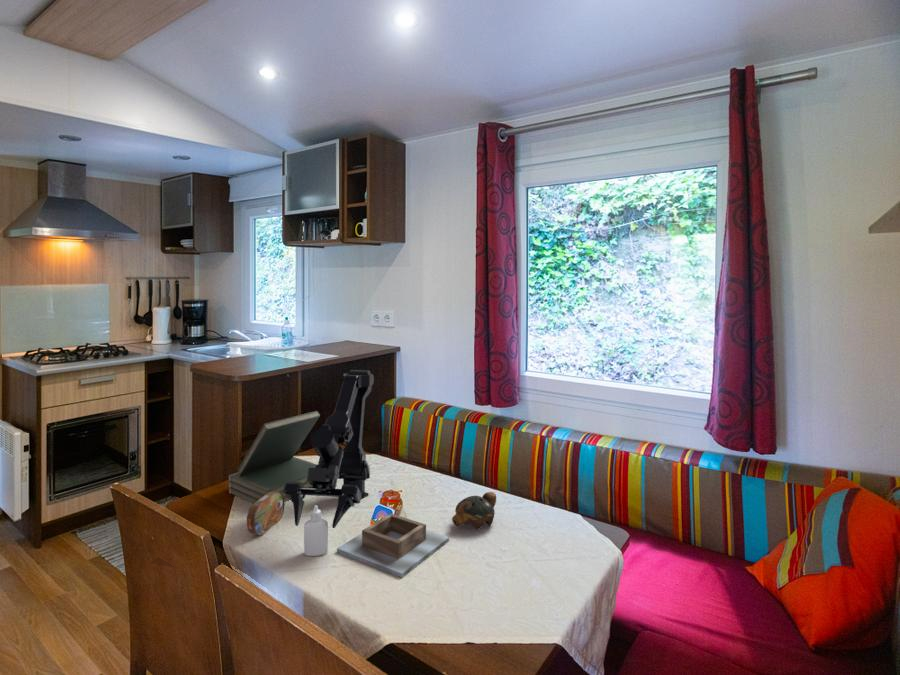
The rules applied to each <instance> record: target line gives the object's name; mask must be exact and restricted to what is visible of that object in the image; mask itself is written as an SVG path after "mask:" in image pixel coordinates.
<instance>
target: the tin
mask: <svg viewBox="0 0 900 675" xmlns="http://www.w3.org/2000/svg"><path fill="white" fill-rule="evenodd" d="M285 504H286V502H285V503H284V496H283V494H282V493H281V492H269V493H267V494H266V495H265V496H263V497H262V498H261V499H259V500H258V501H257V502H255V503H252V505H251V506H250V507H249V509H248V512H247V515H246V526H247V532H248V533H249V534H251V535H252V536H253V535H254V536H264V535H265V534H266V533H267V532H268V531H269V530H270V529H272V528H273V527H274V526H275V525H276V524H277V523H279V522H280V521H281V519H282V518H283V514H284V510H285ZM273 525H274V526H273ZM272 526H273V527H272ZM271 527H272V528H271ZM266 531H267V532H266ZM265 532H266V533H265ZM264 533H265V534H264ZM263 534H264V535H263Z"/></svg>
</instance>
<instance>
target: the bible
mask: <svg viewBox="0 0 900 675" xmlns="http://www.w3.org/2000/svg"><path fill="white" fill-rule="evenodd" d="M320 416H321V414H320V413H319V411H318V410H315V411H312V412H311V411H310V412H306V413H304V414H303V413H302V414H299V415H295V416H289V417H287V418H282V419H279V420H275V421H274V420H273V421H269V422H266V423H264V424H263V425H262V426H261V428H260V430H259V432H258V434H257V436H256V437H255V439H254V440H253V442H252V444H251V445H250V448H249V449H248V451H247V452H246V454H245V456H244V457H243V459H242V461H241V463H240V464H239V466H238V468H237V469H236V472H235V473H233V474H232V473H231V474H229V475H228V493H229V494H232V495H234V496H236V497H237V498H240V497H241V498H240V499H242V498H243V500H245V501H247V502H249V501H250V502H249V503H251V502H252V504H254V503H255V502H257V501H258V500H259V499H261V498H262V497H263V496H265V495H266V494H267V493H269V492H281V493H282V494H283V496H284V502H285V503H287V502H286V501H288V502H290V501H291V500H290V499H288V498H287V496H286V495H285V494H284V492H283V488H284V485H285V484H286V483H287V482H288V481H289V482H301V483H302V484H303V486H304V487H312V486H313V485H310V481H307V475H308V468H315V467H316V465H318V464H317V463H314V462H311V461H308V460H305V459H302V458H299V457H296V455H295V454H296V452H298V450H299V449H300V447H301V446H302V444H303V442H304V441H305V439H306V438H307V436H308V434H309V433H310V431H311V430H312V429H313V428H314V425H316V422H317V421H318V420H319V418H320ZM289 500H290V501H289Z"/></svg>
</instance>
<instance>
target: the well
mask: <svg viewBox="0 0 900 675" xmlns="http://www.w3.org/2000/svg"><path fill="white" fill-rule="evenodd" d="M449 541H450V537H449V536H446V535H443V534H440V533H437V532H434V531H430V530H428V529H427V524H425V523H423V522H419V521H417V520H413V519H409V518H406V517H404V516H401V515H398V514H394V513H389V514H387V515H386V516H384V517H382V518H381V519H378V520H377V521H375V522H374V523H371V525H369V526H367V527H365V528H364V529H362V530H361V533H360V534H358V535H357V536H355V537H353V538H351V539H350V540H348V541H347V542H345V543H343V544H341V545H340V546H339V547H337V548H336V552H337V553H338V552H339V553H338V554H341V553H342V554H341V555H343V554H344V556H347V557H349V558H352V559H353V560H356V561H359V562H361V563H364V564H366V565H369V566H372V567H374V568H377V569H378V570H381V571H384V572H387V573H389V574H392V575H394V576H397V577H399V578H404V577H405V576H406V575H408V574H409V573H410V572H411V571H413V570H414V569H416V568H417V567H418V566H419V565H420V564H422V563H423V562H424V561H426V560H427V559H428V558H430V557H431V556H432V555H433V554H434V553H436V552H437V551H438V550H439V549H441V548H442V547H443V546H444V545H446V544H447V543H448V542H449Z"/></svg>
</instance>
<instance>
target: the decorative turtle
mask: <svg viewBox="0 0 900 675" xmlns="http://www.w3.org/2000/svg"><path fill="white" fill-rule="evenodd" d="M496 503H497V495H496V493H495V492H493V491H487V492H485V493H483V495H482V496H480V495H471V496H467V497H464V498H463V499H462V500H460V501H459V502H458V503H457V504H456V507H455V511H454V512H455V514H454V515H453V516H452V518H451V520H452V523H453V524H454V525H455V526H456V527H461V526H464V525H465V524H468V523H471V524H472V526H473V527H474V528H475V529H476V530H480V529H481V528H482V527H483V526H484V525H485V524H486V525H487V526H491V525H492V524H493V523H494V518H495V514H496V512H495V506H496Z"/></svg>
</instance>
